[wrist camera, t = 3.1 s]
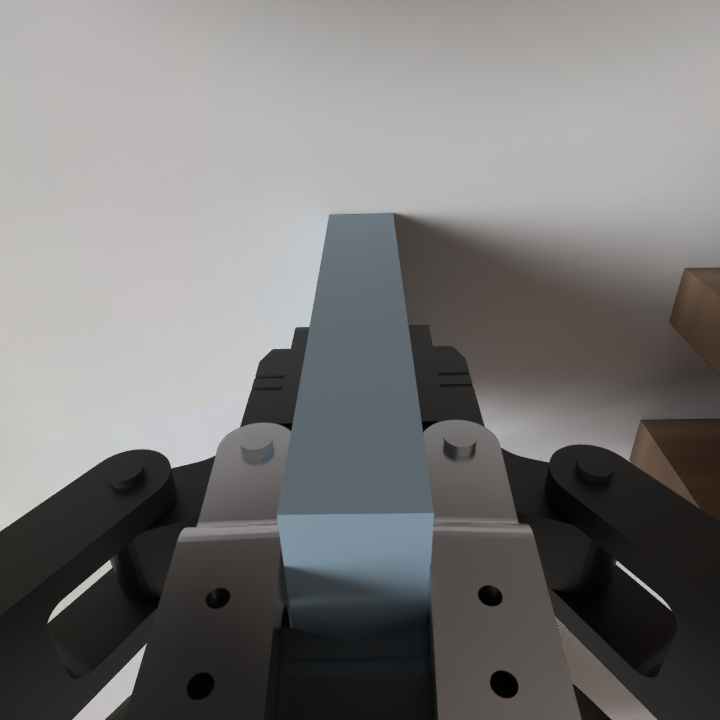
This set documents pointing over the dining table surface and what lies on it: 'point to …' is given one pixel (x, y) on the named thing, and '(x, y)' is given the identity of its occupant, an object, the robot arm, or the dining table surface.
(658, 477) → the brown wooden block
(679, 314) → the tile
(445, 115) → the dining table surface
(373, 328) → the tile
